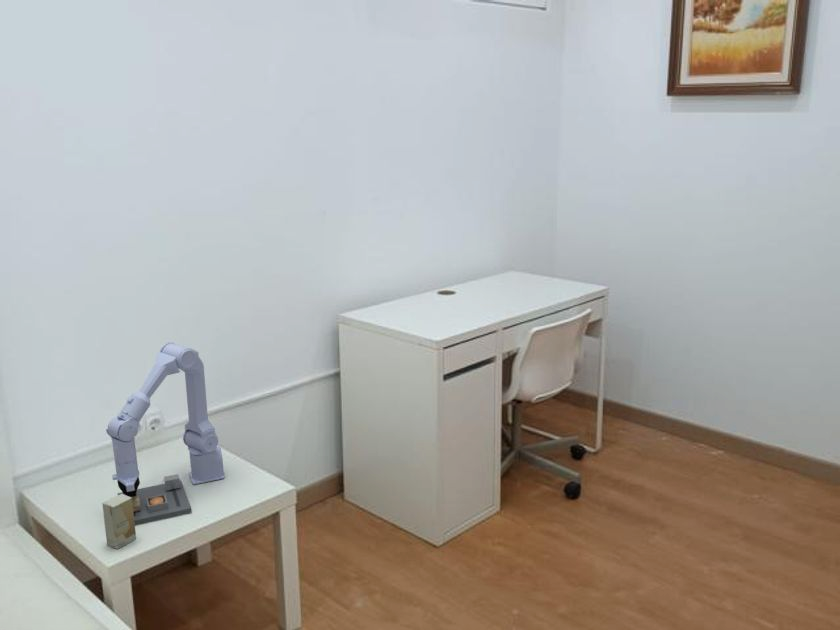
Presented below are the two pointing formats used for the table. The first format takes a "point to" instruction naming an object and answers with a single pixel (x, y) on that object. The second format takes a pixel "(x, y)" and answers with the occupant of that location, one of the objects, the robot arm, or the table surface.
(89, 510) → the table surface
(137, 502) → the birch slider
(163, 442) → the table surface
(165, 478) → the steel slider
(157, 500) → the push button
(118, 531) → the skincare box
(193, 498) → the table surface
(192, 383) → the robot arm
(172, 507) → the control panel
